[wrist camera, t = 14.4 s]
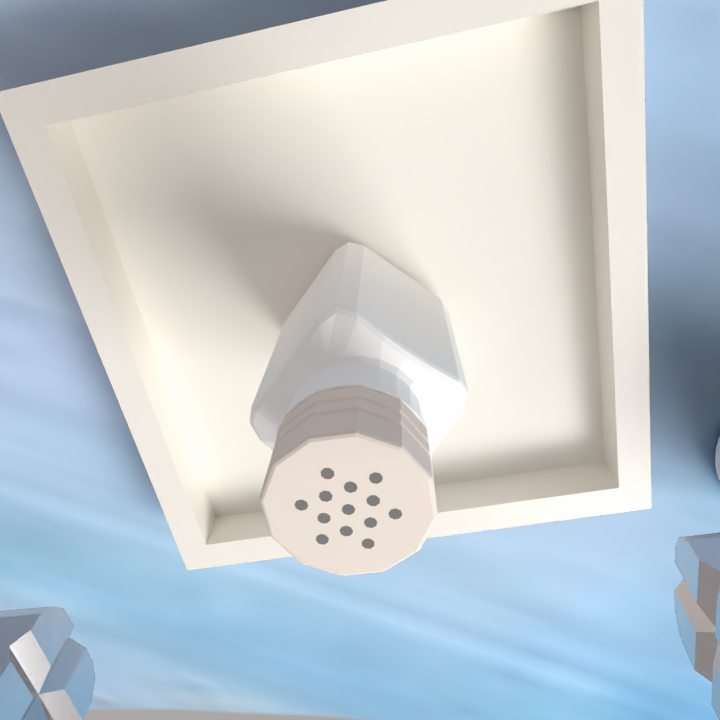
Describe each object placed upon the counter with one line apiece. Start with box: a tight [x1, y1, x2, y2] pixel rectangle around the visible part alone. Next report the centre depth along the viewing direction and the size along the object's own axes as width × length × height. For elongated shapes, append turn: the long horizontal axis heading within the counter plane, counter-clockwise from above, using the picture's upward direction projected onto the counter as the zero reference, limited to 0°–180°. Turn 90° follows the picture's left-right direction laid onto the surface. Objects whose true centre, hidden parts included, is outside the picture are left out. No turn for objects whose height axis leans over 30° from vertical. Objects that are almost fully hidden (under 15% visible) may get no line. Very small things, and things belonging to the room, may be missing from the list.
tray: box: [0, 0, 651, 570], centre depth 20 cm, size 16×16×2 cm
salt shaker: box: [250, 242, 468, 576], centre depth 16 cm, size 4×4×10 cm
